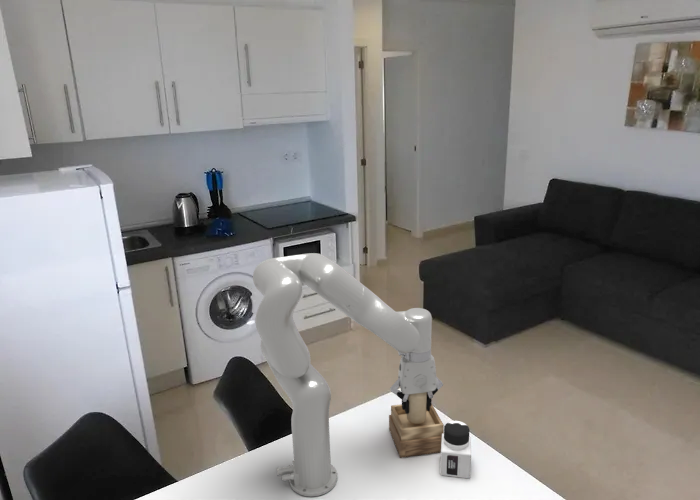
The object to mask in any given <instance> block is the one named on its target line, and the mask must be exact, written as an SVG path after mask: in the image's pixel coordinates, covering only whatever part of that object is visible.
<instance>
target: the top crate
mask: <svg viewBox="0 0 700 500" xmlns="http://www.w3.org/2000/svg"><path fill="white" fill-rule="evenodd" d="M390 415H391V417H392V419H393V422H394V424H395V427H396V429H397V431H398V434H399V436H400V439H401V441H409V440H416V439H423V438H431V437H438V436H442V434H443V433H444V426H445V425H444V423H443V421H442V419H441V418H440V416H439V414H438V413H437V410H436V409H435V406H434V405H433V403H432V402H431V406H430V411H427V410H426V420H425V422H423V423H420V424H414V423H411V422H409V421H408V419H407V414H406V412H405V410H403V409H402V403H400V404H393V405H392V404H391V405H390Z"/></svg>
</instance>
